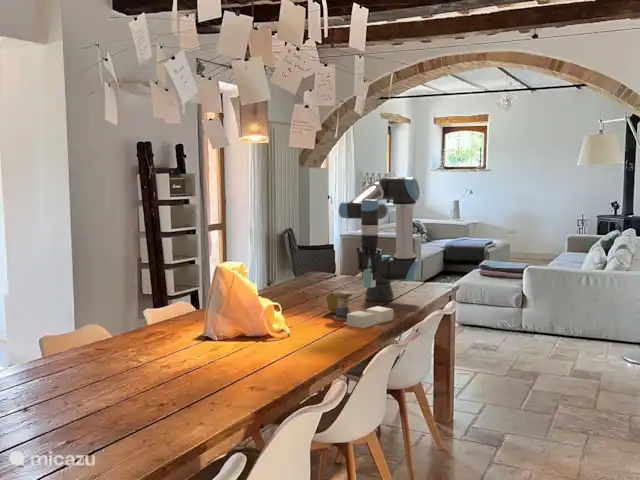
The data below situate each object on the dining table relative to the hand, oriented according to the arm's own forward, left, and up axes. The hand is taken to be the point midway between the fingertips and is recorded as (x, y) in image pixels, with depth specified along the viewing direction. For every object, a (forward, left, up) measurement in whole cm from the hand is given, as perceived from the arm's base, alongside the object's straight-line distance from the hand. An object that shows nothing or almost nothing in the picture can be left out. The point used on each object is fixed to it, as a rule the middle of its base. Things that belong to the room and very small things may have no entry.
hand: (369, 286), depth 280 cm
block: (0, 0, 0) cm, 0 cm away
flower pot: (-5, -23, -17) cm, 29 cm away
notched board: (0, +1, -16) cm, 16 cm away
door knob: (+3, -13, -16) cm, 22 cm away
